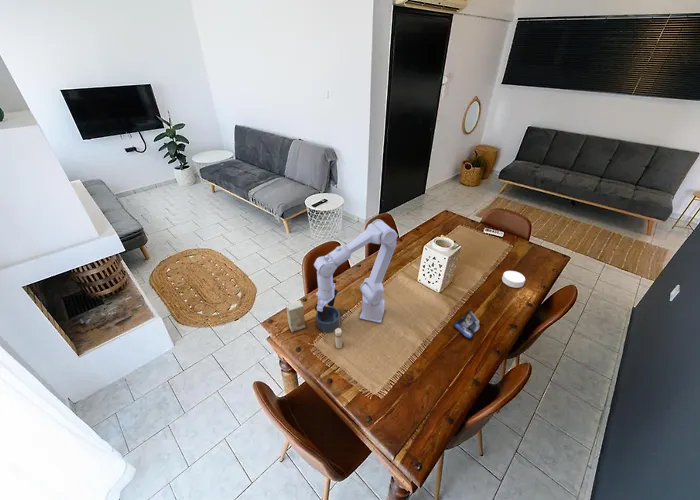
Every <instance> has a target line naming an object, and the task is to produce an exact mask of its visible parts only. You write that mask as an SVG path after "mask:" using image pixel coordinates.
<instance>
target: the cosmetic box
mask: <svg viewBox="0 0 700 500" xmlns="http://www.w3.org/2000/svg"><path fill="white" fill-rule="evenodd" d="M285 309H286V316H287V323H288V327H289V330H290V331H291V333H294V332H296V331H299V330H302V329H305V328H306V321H305V319H306V318H305V310H304V309H305V308H304V304H303V302H302V300H301V299H298V300H295V301H292V302H288V303H286V304H285Z"/></svg>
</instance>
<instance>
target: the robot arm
mask: <svg viewBox="0 0 700 500" xmlns="http://www.w3.org/2000/svg"><path fill="white" fill-rule="evenodd" d="M398 236H399V235H398V233H397V232H396V230H395V229H394V228H391V226H389V225H388V224H387V223H386V222H385V221H384V220H383V219H379V218H377V219H374V220H373V221H372V222H371V223H369V224H368V225H367V227H366V229H365V230H363V232H362V233H360V234H359V235H358V236H356V237H355V238H353V240H351V241H350V242H349V243H347V244H346V245H345V244H341V245H338V246H336V247H335V249H333V250H332V251H330V252H328V253H327V254H325V255H321V256H318V257H317V258H316V259H315V261H314V263H313V267H314V268H315V269H316V281H317V292H316V293H315V296H316V297H317V303H316V304H315V305H314V311H315V312H316V313H317V312H318V313H319V315H320V317H321V319H323V320H326V319H327V315H328V311H329V309H330V308H329V307H327V306H331V307H334V305H335V301H336V297H337V295H338V293H339V290H338V289H336V283H334V274H335V272H336V270H337V269H338V267H340V266H341V265H342V264H344V263H345V262H347V261H348V260H350V259H351V256H352V254H353V253H354V252H356V251H358V250H360V249H361V248H364V247H365V246H367V245H369V244H374V245H380V248H379V250H378V253H377V256H376V258H375V261H374V264H373V266H372V269H371V272H370V275H369V277H365V278H364V280H363V282H362V283H361V284H360V286H359V291H360V293H362V306H361V307H362V309H361V313H360V314H359V319H360V320H366V321H369V322H375V323H379V324H381V323H382V321H383V317H384V315H385V304H386V300H385V299H384V291H385V289H384V286H383V281H384V278H385V275H386V273H387V271H388V267H389V265H390V263H391V260H392V257H393V255H394V252H395V249H396V247H397V239H398Z"/></svg>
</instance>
